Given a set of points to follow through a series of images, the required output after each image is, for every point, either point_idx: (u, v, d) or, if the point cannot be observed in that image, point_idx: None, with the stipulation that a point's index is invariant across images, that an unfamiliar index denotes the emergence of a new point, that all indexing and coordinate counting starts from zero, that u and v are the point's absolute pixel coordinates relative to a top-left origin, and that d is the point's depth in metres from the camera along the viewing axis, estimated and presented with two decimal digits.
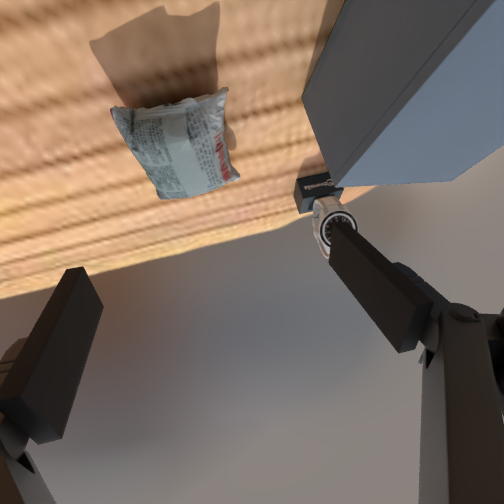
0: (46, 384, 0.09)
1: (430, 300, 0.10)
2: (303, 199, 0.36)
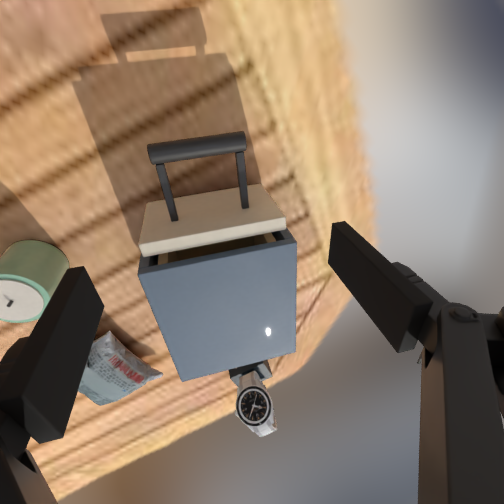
0: (47, 383, 0.09)
1: (429, 300, 0.10)
2: (231, 378, 0.42)
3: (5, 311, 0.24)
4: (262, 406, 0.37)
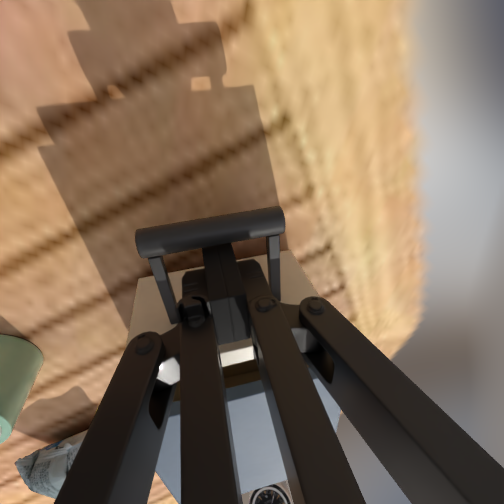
0: None
1: (243, 292, 0.11)
2: None
3: None
4: None
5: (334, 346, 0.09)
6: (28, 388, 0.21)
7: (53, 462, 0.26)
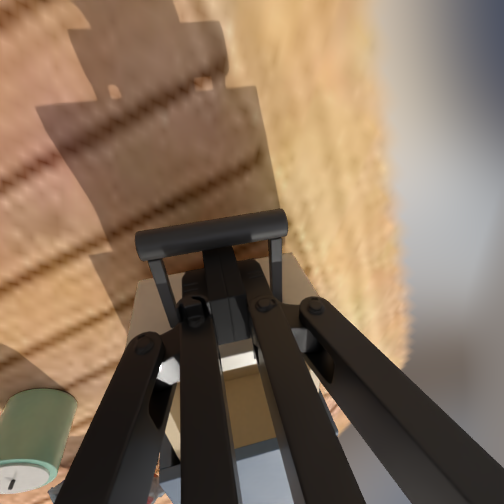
0: None
1: (243, 292, 0.11)
2: None
3: (6, 488, 0.21)
4: None
5: (334, 346, 0.09)
6: (68, 434, 0.24)
7: None
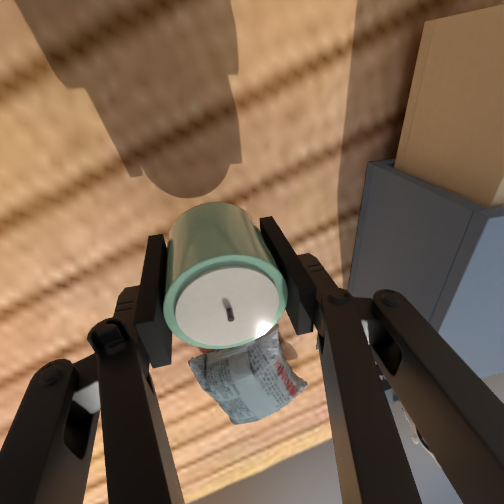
0: (161, 317, 0.11)
1: (313, 285, 0.11)
2: None
3: (210, 329, 0.13)
4: None
5: (405, 338, 0.09)
6: None
7: (232, 360, 0.24)
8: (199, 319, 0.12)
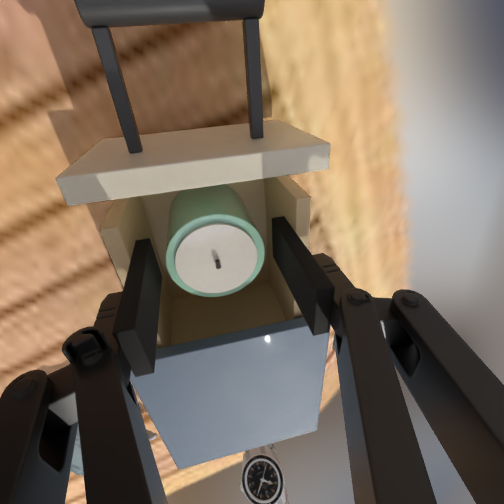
0: (143, 325, 0.11)
1: (331, 285, 0.11)
2: None
3: (202, 277, 0.16)
4: (272, 481, 0.31)
5: (424, 338, 0.09)
6: None
7: None
8: (194, 268, 0.15)
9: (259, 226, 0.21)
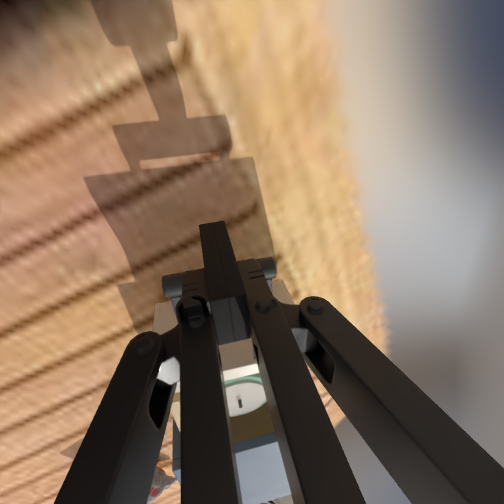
0: None
1: (243, 292, 0.11)
2: None
3: None
4: None
5: (334, 346, 0.09)
6: None
7: None
8: None
9: None
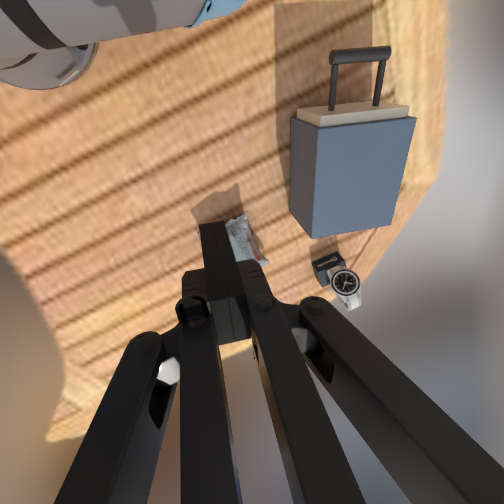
0: None
1: (243, 292, 0.11)
2: (318, 273, 0.52)
3: None
4: (352, 282, 0.47)
5: (334, 346, 0.09)
6: None
7: None
8: None
9: None
